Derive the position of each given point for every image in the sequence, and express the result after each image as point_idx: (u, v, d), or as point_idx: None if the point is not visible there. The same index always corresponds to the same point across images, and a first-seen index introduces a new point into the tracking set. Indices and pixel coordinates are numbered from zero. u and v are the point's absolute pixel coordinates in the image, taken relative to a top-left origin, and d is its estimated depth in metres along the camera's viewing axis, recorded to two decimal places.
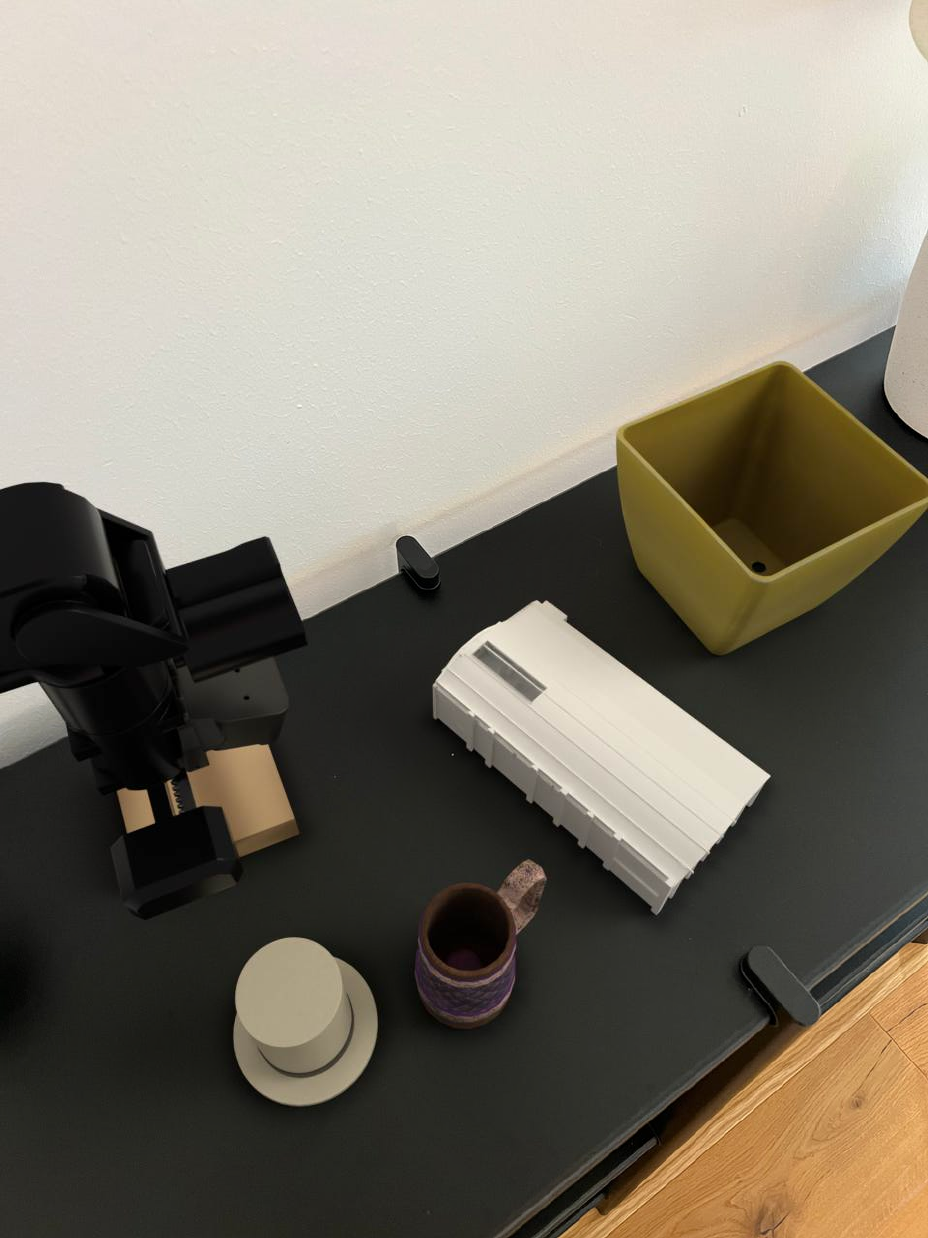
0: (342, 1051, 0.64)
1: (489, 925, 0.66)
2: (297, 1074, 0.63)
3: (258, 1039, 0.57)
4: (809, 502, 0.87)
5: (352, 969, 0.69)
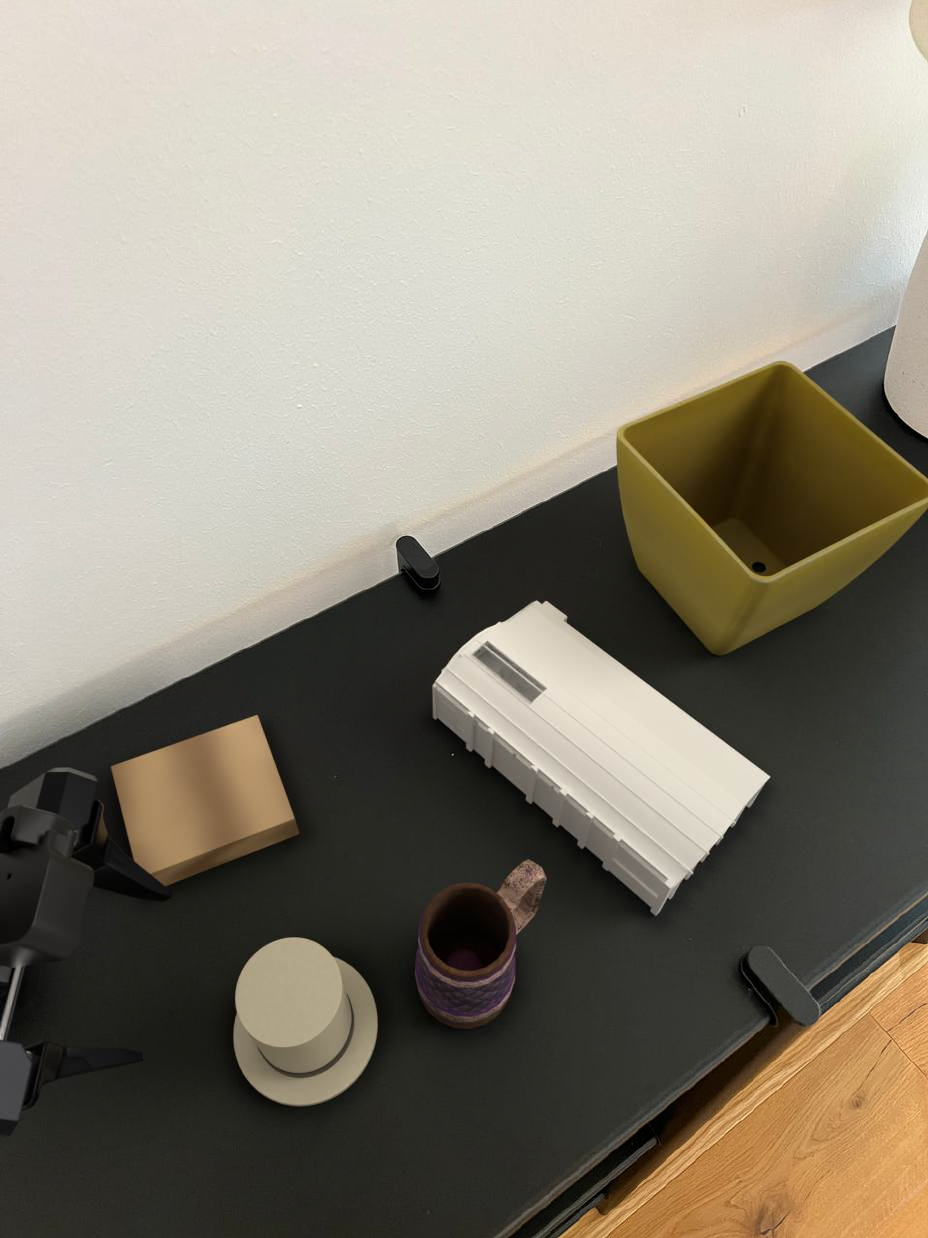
0: (342, 1051, 0.64)
1: (489, 925, 0.66)
2: (297, 1074, 0.63)
3: (258, 1039, 0.57)
4: (809, 502, 0.87)
5: (352, 969, 0.69)
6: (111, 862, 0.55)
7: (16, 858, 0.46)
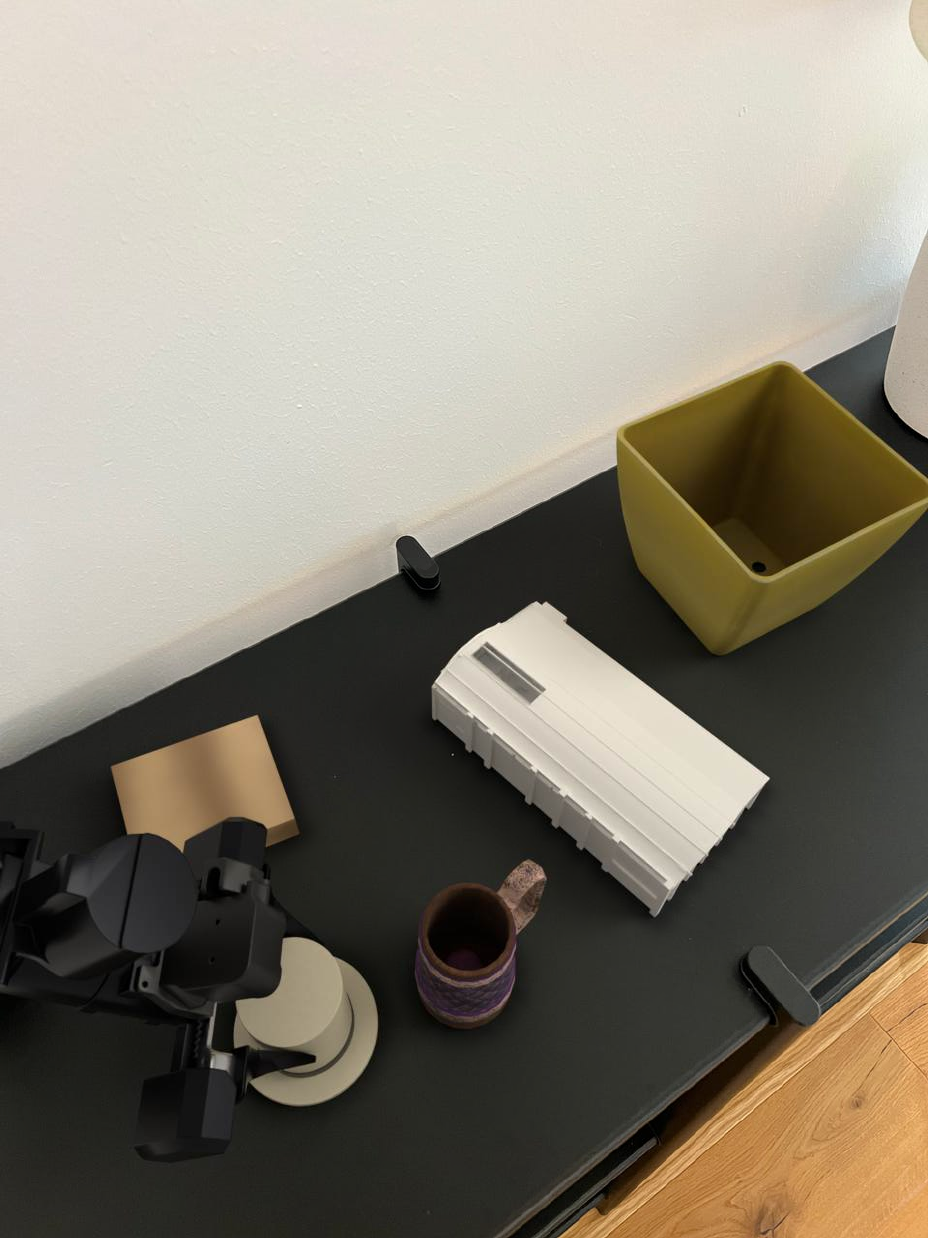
0: (342, 1051, 0.64)
1: (489, 925, 0.66)
2: (297, 1074, 0.63)
3: (258, 1039, 0.57)
4: (809, 502, 0.87)
5: (352, 969, 0.69)
6: None
7: (222, 905, 0.52)
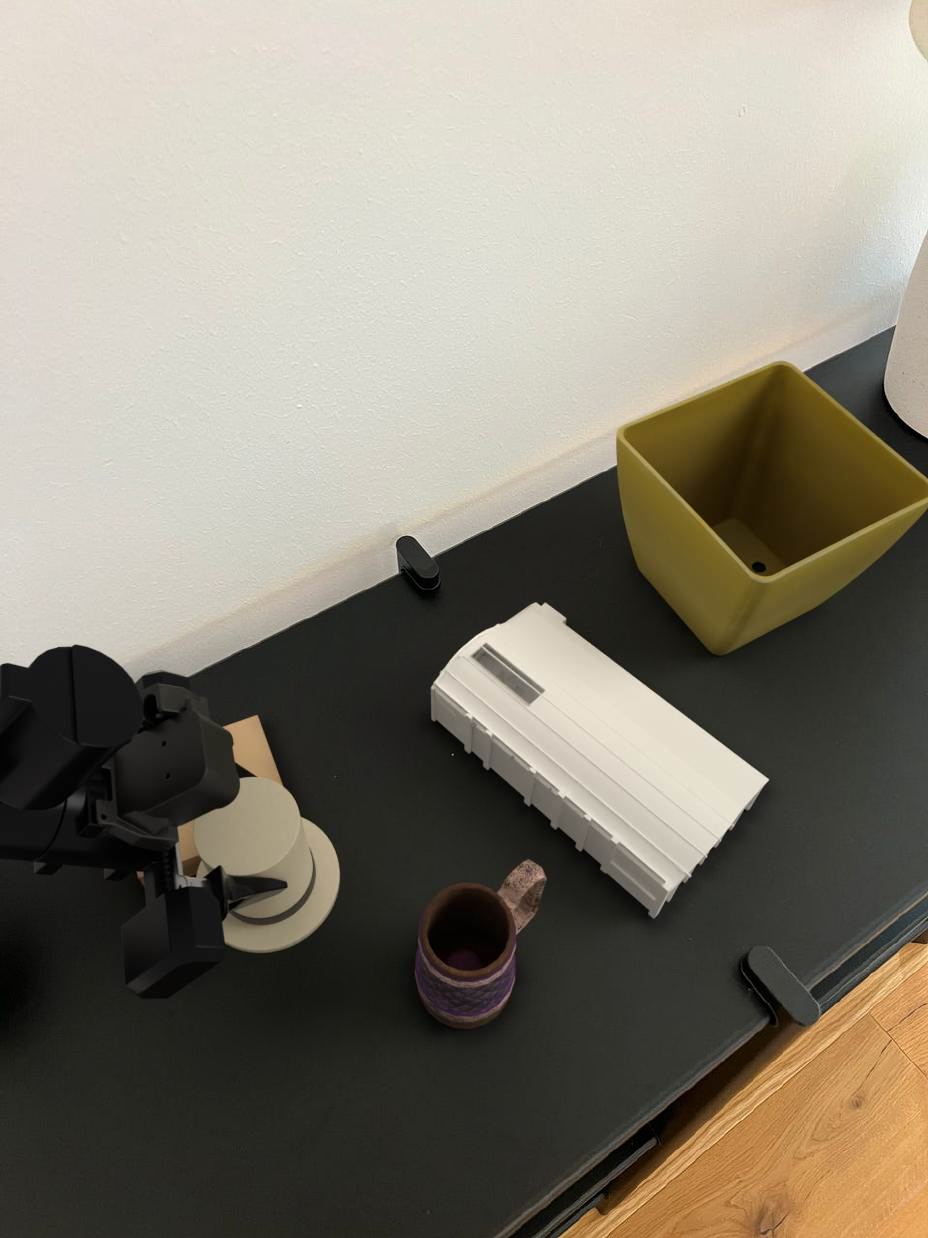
0: (310, 887, 0.65)
1: (489, 925, 0.66)
2: (270, 918, 0.63)
3: (227, 873, 0.57)
4: (809, 502, 0.87)
5: (301, 818, 0.69)
6: None
7: (164, 728, 0.52)
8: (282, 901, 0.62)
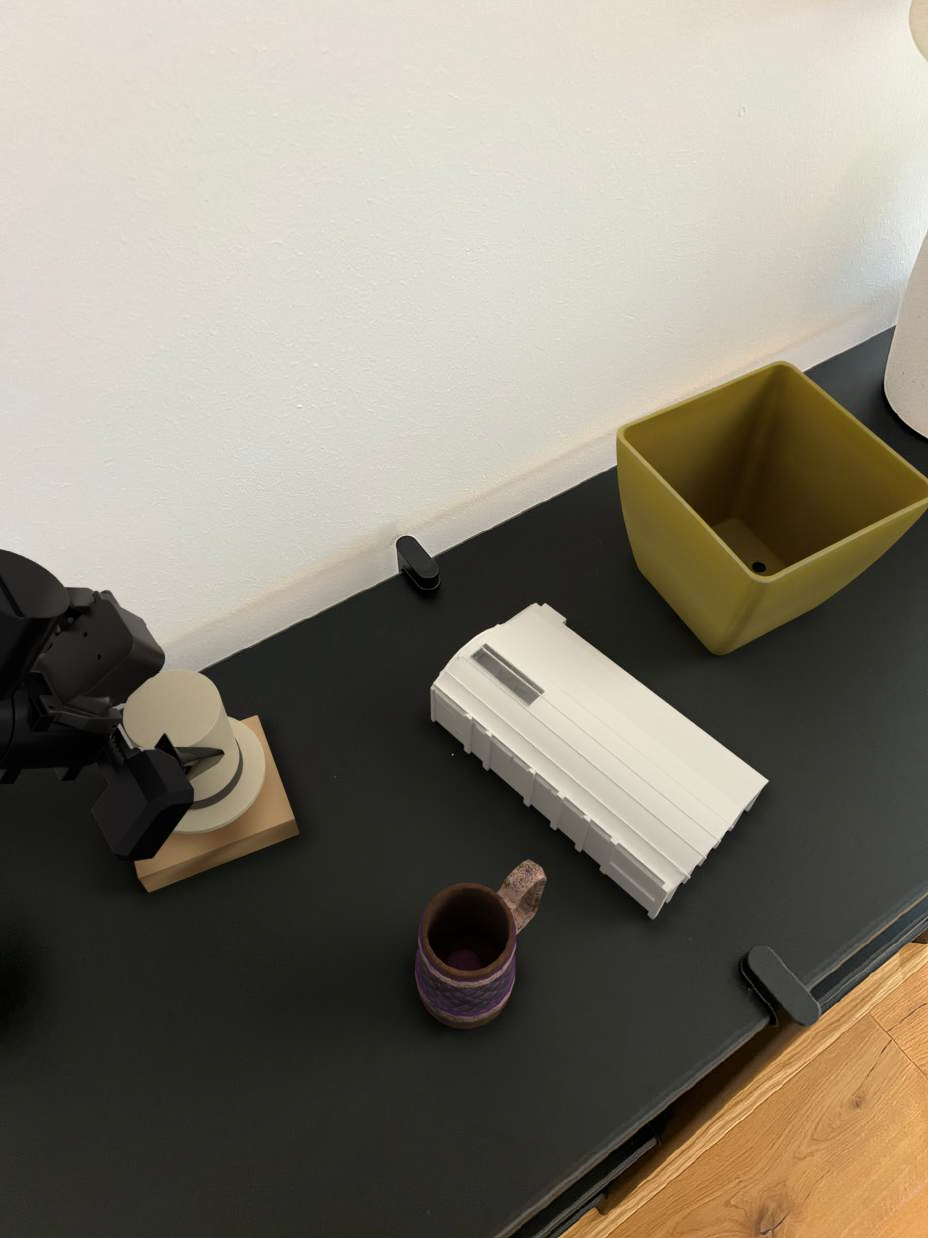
0: (240, 762, 0.72)
1: (489, 925, 0.66)
2: (214, 796, 0.70)
3: None
4: (809, 502, 0.87)
5: None
6: None
7: (81, 622, 0.57)
8: (221, 775, 0.69)
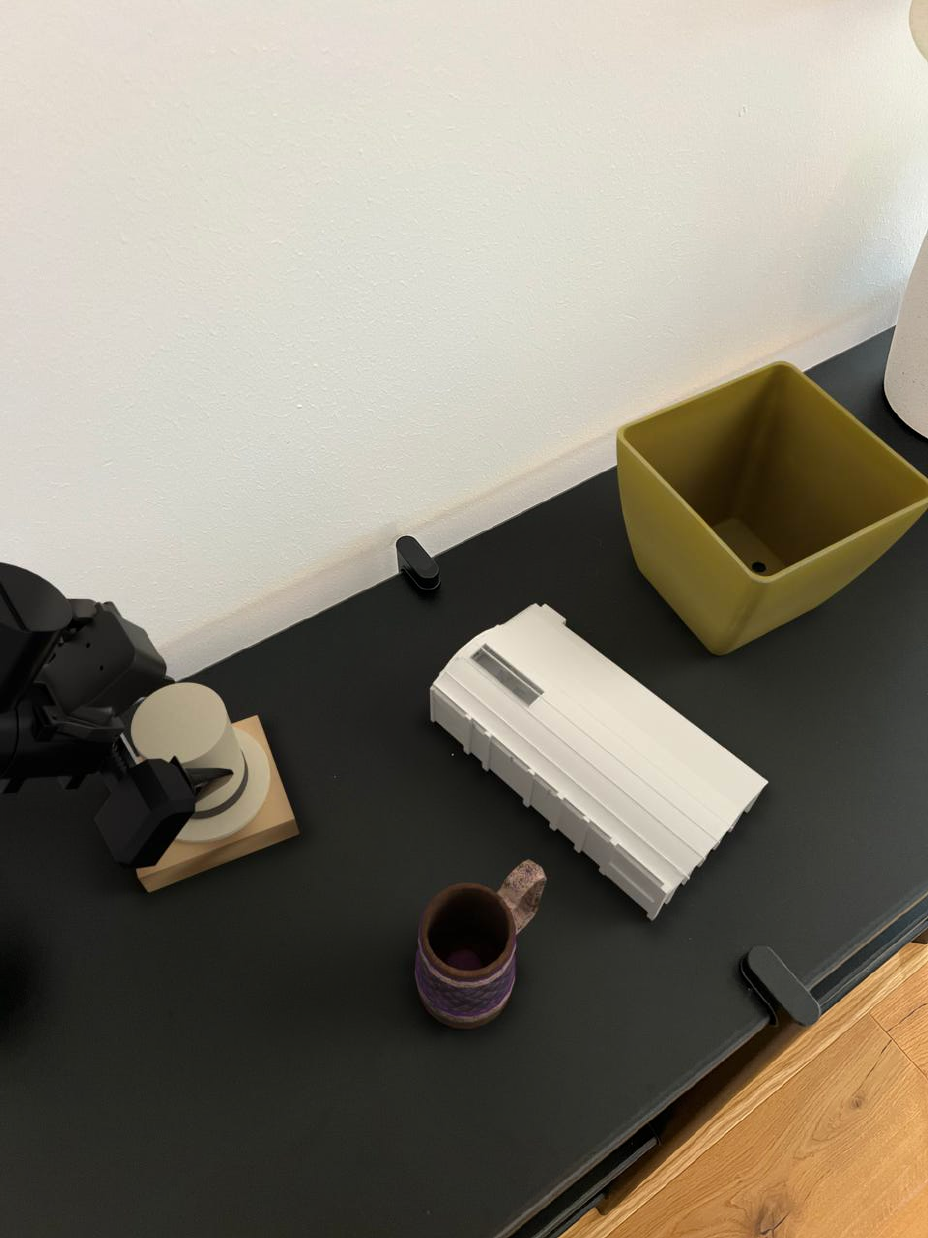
0: (246, 773, 0.73)
1: (489, 925, 0.66)
2: (220, 806, 0.71)
3: None
4: (809, 502, 0.87)
5: None
6: None
7: (84, 633, 0.58)
8: (227, 785, 0.70)
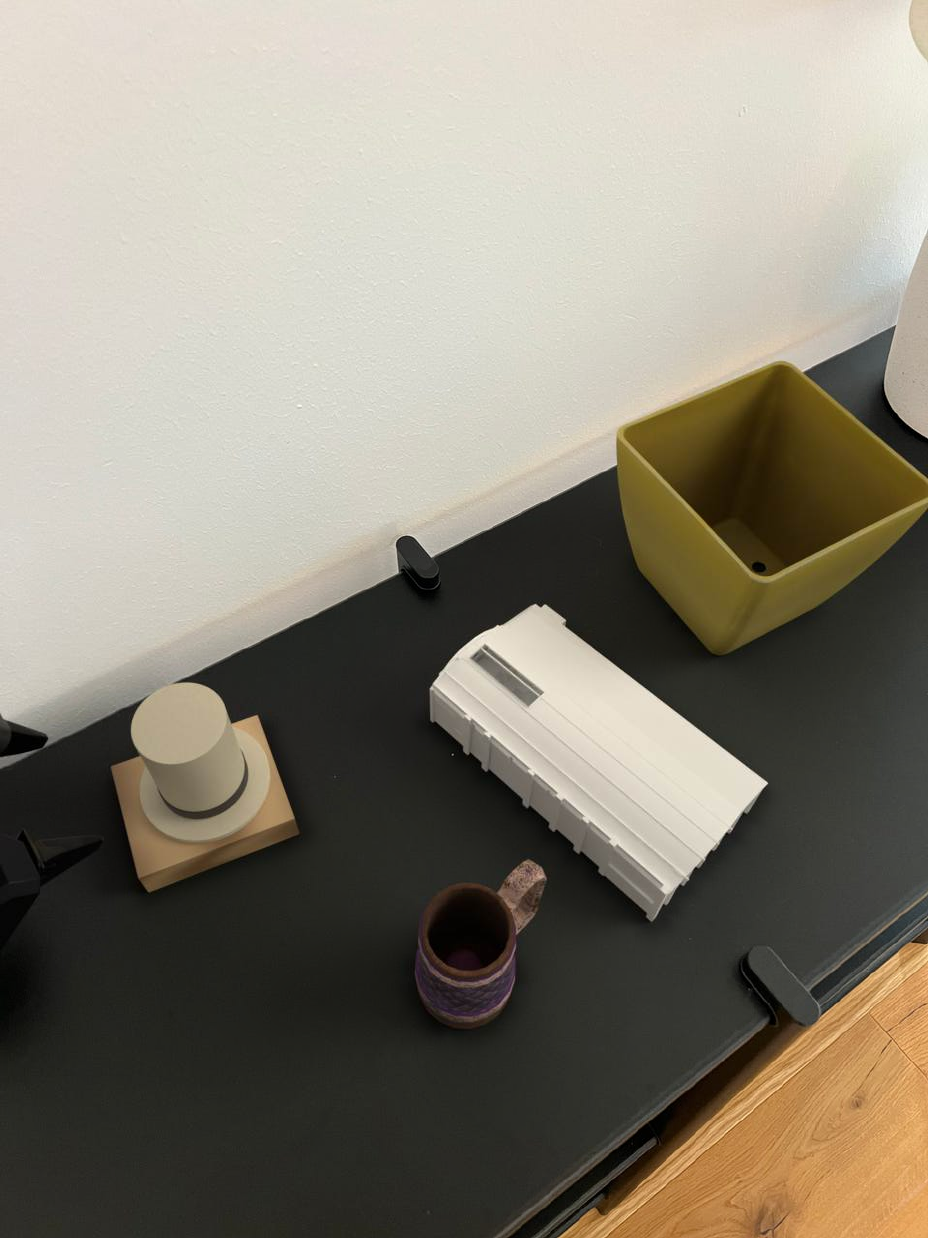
0: (246, 773, 0.73)
1: (489, 925, 0.66)
2: (220, 806, 0.71)
3: (175, 763, 0.65)
4: (809, 502, 0.87)
5: None
6: None
7: None
8: (227, 785, 0.70)
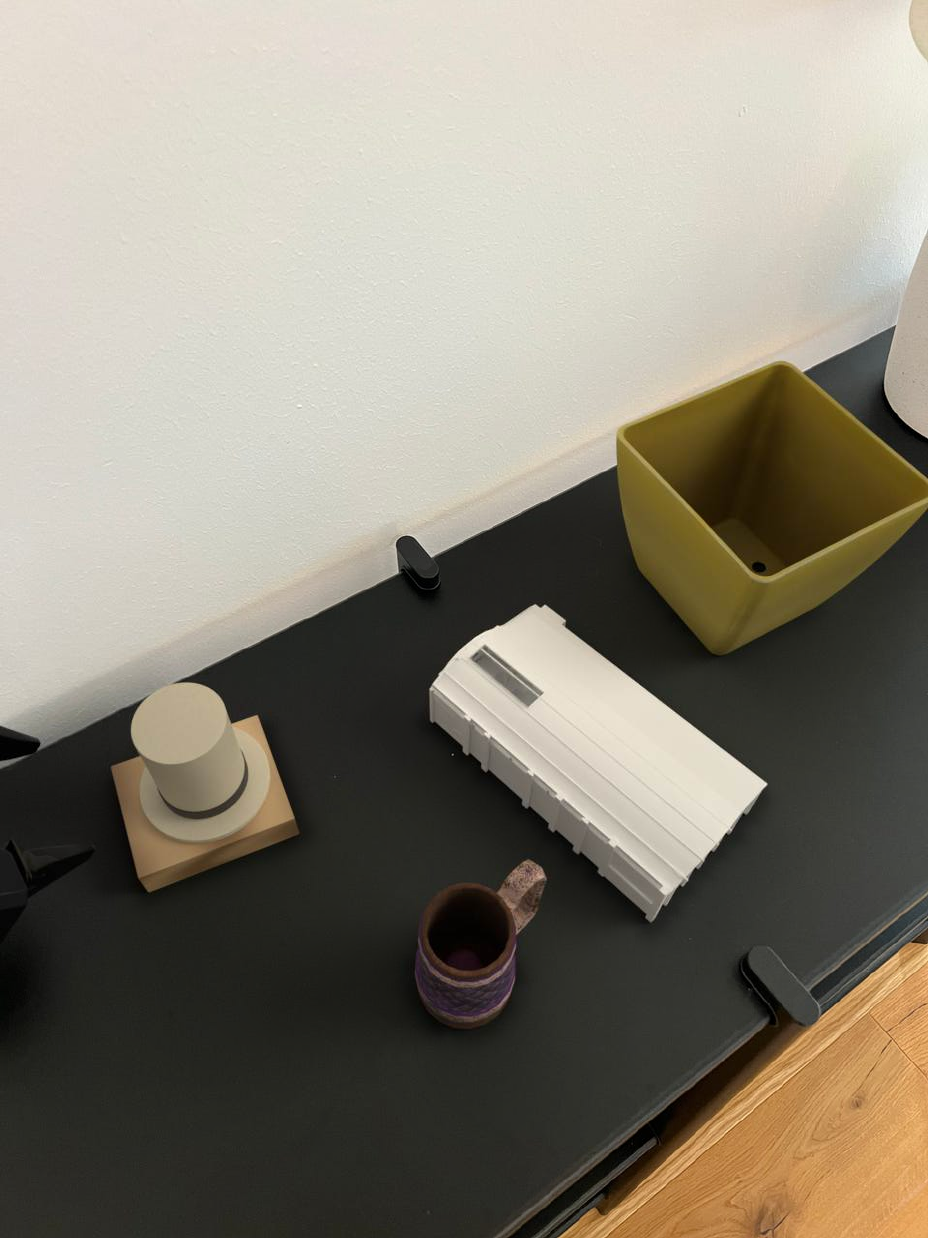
0: (246, 773, 0.73)
1: (489, 925, 0.66)
2: (220, 806, 0.71)
3: (175, 763, 0.65)
4: (809, 502, 0.87)
5: None
6: None
7: None
8: (227, 785, 0.70)
